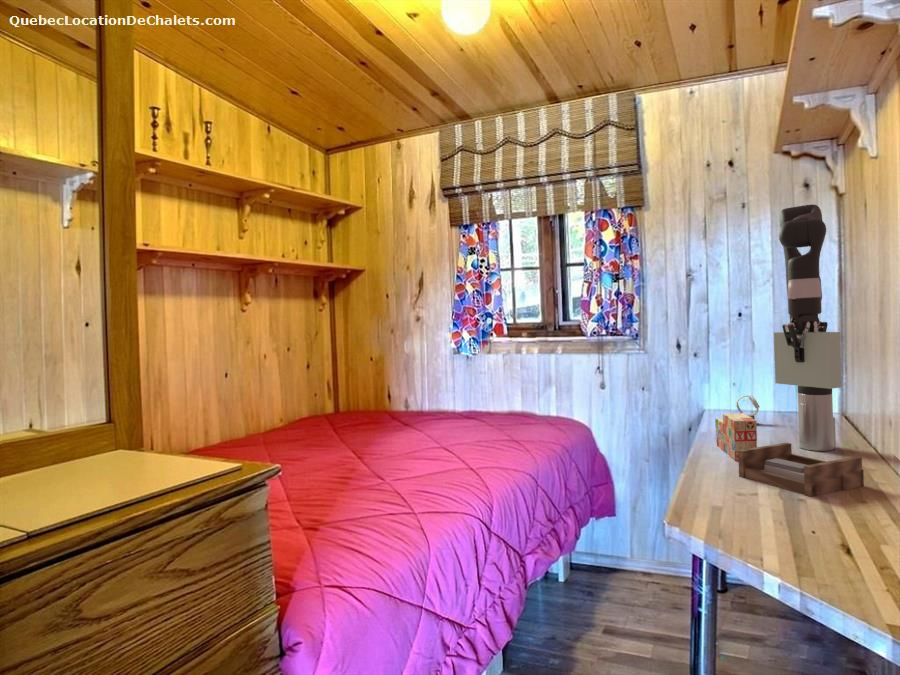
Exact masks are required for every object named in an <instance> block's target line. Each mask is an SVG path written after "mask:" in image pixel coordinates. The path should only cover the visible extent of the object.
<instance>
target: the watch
mask: <svg viewBox="0 0 900 675" xmlns="http://www.w3.org/2000/svg"><path fill="white" fill-rule="evenodd" d="M742 398H748V399H749V400H750V402H751V404H752V405H753V406H754V408H755V409H756V411H755V412H754V413H752V414H745V413H744V411H742V410H741V408H740V406H739V401H740V400H741V399H742ZM735 406H736V409H737V411H738V412H739V413H743V414H745V415H747V416H750V417H752V418H753V419H754V420H756V419H755V416H756V415H757V414H758V412H759V410H760V409H759V408H760V405H759V403H758V401H757V400H756V399H755V397H754V396H753V395H752V396H751V395H746V394H745V395H741V396H740V397H739V398H737V400H736V405H735Z"/></svg>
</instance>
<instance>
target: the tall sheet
mask: <svg viewBox="0 0 900 675" xmlns="http://www.w3.org/2000/svg"><path fill="white" fill-rule="evenodd" d="M796 335H797V336H801V335H798V334H797V333H796ZM805 335H806V339H805V340H804V347H803V348H804V360H805V361H804V362H802V363H801V362H796V361H795V356H794V355H795V354H794V348H793V347H792V346H788V345H787V341H786V338H785V335H784V331H778V332H773V349H774V350H773V352H774V353H773V354H774V381H775V384H778V385H790V386H796V387H798V386H808V387H818V388H828V389H832V390H833V389H838V388H842V386H843V385H842V356H841V353H842V351H841V348H842V347H841V332H840V331H826V332H808V333H806V334H805ZM791 341H793V339H792V338H791ZM798 342H800V339H798Z"/></svg>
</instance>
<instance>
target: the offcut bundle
mask: <svg viewBox="0 0 900 675" xmlns="http://www.w3.org/2000/svg"><path fill="white" fill-rule="evenodd" d="M765 464H766V465H764V467H765V469H764V470H762V471H765V472H769V473H773V474H777V475H781V476H784V477H788V478H792V479H796V480H800V481H803V482H804V466H806V464H801V463H796V462H792V461H787V460H782V459H778V458H775V459H770V460H765Z"/></svg>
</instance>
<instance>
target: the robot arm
mask: <svg viewBox="0 0 900 675" xmlns="http://www.w3.org/2000/svg"><path fill="white" fill-rule="evenodd" d="M821 210H822V209H821V208H820V207H819V205H817V204H806V205H799V206H793V207H792V206H791V207H785V208H783V209H782V210H781V211H780V213H779V231H778V240H779V242H780V245H781V246H782V248H783V253H784V254H783V255H784V264H785V280H786V282H785V285H786V296H787V297H786V298H787V307H788V308H787V310H788V312H787V313H788V315H789V323H787V324H785V323H784V324H782V326H781V327H782V332H784V335H785V338H786V341H787V345H788V346H792V347H793V348H794V354H795V355H794V356H795V361H796V362H801V363H802V362H804V361H805V360H804V348H803V347H804V340H805V339H806V335H805V334H806V333H808V332H827V330H828V325H829V324H828V322H827V321H820V318H819V315H820V314H821V313H822V299H823V293H822V292H823V290H822V280H821V277H820V257H821V252H822V248H823V244H824V243H825V238H826V234H827V225H826V223H825V222H824V221H823V215H822V211H821ZM807 247H810V249H809V251H807V253H805V254H802V253H801V252H800V250H799V248H807ZM796 333H797V334H798V335H801V336H797V335H796ZM791 338H792V339H793V341H791ZM798 339H800V342H798ZM833 404H834V403H833V388H832V389H828V388H818V387H808V386H797V410H798V414H797V415H798V417H797V418H798V446H799V448H800V449H803V450H807V451H808V450H809V451H816V452H817V451H818V452H820V451H821V452H823V451H825V452H826V451H827V452H828V451H833V450H834V449H836V448H837V443H836V436H837V435H836V418H835V417H834V410H833V409H834V407H833V406H834V405H833Z"/></svg>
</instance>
